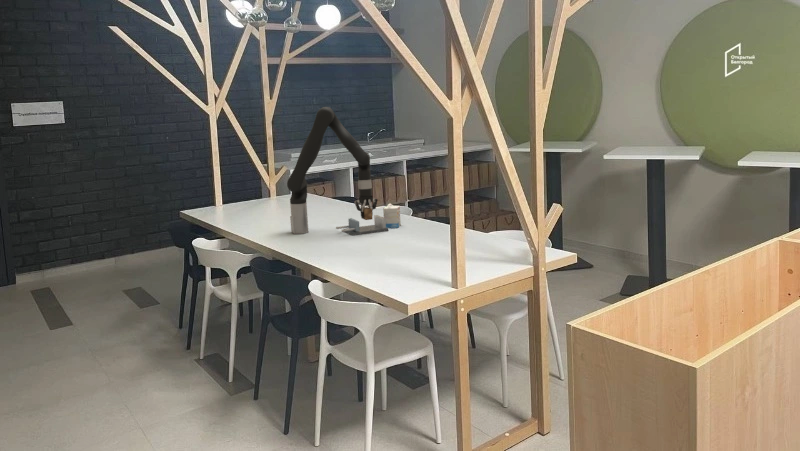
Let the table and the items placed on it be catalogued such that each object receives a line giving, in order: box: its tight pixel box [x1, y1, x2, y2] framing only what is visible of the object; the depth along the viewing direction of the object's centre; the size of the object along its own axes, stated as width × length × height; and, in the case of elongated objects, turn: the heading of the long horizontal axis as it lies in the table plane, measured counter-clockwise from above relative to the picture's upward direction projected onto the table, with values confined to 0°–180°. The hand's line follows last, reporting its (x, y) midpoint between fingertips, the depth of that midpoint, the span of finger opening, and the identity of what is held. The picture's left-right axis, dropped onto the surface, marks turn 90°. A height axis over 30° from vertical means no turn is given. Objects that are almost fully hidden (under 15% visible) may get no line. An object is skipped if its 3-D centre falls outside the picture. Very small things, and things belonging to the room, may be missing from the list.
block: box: [360, 206, 374, 221], centre depth 387 cm, size 4×7×6 cm, turn 24°
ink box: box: [382, 203, 402, 229], centre depth 397 cm, size 9×8×13 cm
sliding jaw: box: [335, 217, 361, 233], centre depth 384 cm, size 10×12×6 cm
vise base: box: [344, 214, 389, 237], centre depth 388 cm, size 22×14×7 cm, turn 114°
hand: (366, 217), depth 387 cm, fingers closed on block, 4 cm apart
